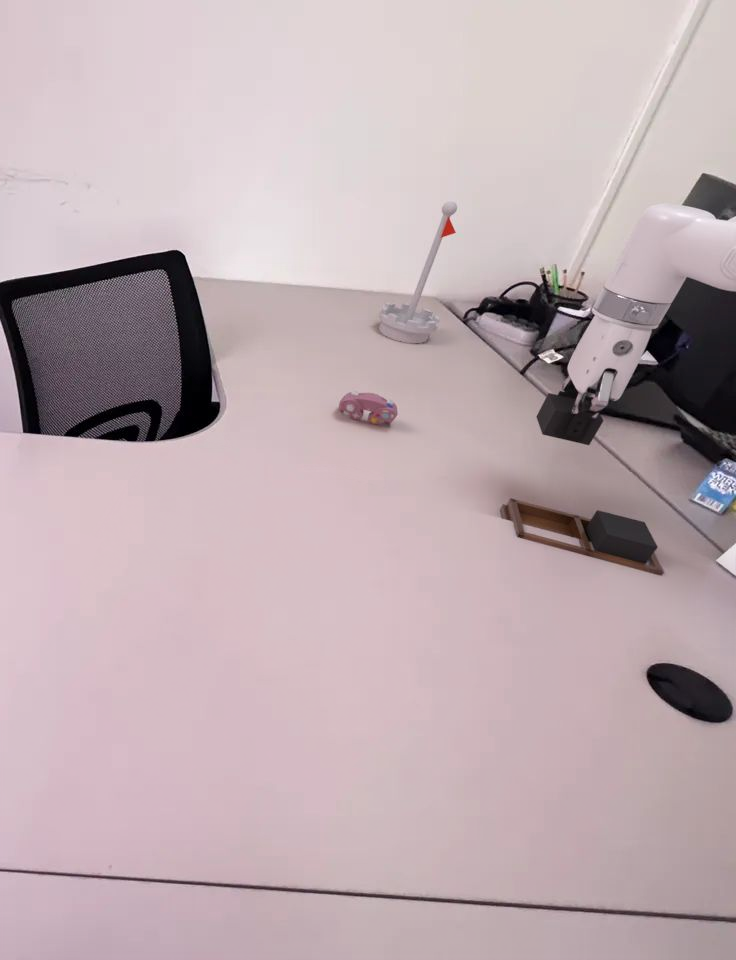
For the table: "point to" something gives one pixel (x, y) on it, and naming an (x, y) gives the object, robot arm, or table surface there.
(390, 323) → the flag stand
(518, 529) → the brown wooden frame
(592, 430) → the black pad
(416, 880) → the table surface
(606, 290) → the robot arm
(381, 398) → the video game controller
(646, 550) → the black pad
